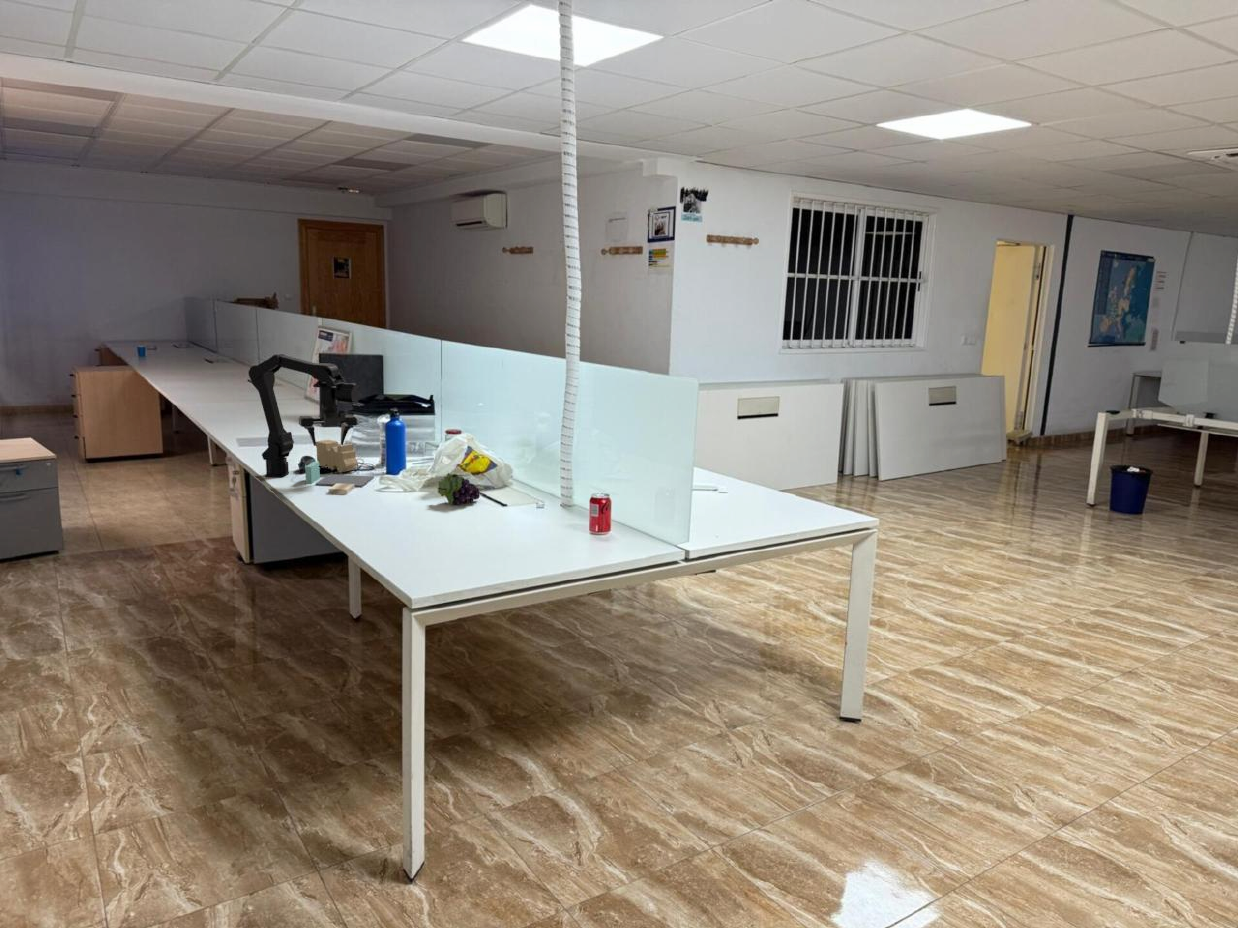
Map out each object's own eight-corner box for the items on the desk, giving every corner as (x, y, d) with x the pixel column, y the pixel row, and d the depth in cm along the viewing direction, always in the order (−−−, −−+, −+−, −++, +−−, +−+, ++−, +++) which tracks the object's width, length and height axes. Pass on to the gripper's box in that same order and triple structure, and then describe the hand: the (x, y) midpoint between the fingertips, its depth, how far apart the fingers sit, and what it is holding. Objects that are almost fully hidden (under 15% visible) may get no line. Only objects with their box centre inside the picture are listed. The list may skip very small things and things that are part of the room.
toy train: (346, 474, 315) (345, 447, 313) (315, 467, 324) (314, 440, 322) (358, 471, 320) (357, 445, 318) (327, 464, 329) (326, 438, 326)
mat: (315, 485, 297) (315, 483, 297) (329, 476, 311) (329, 474, 311) (362, 487, 297) (362, 485, 297) (373, 477, 311) (373, 476, 311)
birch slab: (328, 494, 288) (328, 488, 287) (336, 489, 296) (336, 483, 295) (347, 495, 288) (346, 489, 287) (354, 489, 296) (354, 484, 295)
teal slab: (305, 483, 299) (305, 466, 298) (314, 478, 307) (313, 461, 306) (311, 483, 299) (311, 466, 298) (319, 478, 307) (319, 462, 306)
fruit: (480, 512, 284) (441, 507, 274) (465, 499, 292) (426, 494, 281) (490, 483, 282) (451, 477, 272) (474, 471, 290) (436, 465, 280)
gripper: (304, 405, 288) (304, 451, 292) (361, 404, 297) (360, 448, 301) (298, 399, 298) (298, 444, 301) (353, 399, 307) (353, 442, 310)
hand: (328, 445), depth 303 cm, fingers open, 9 cm apart
